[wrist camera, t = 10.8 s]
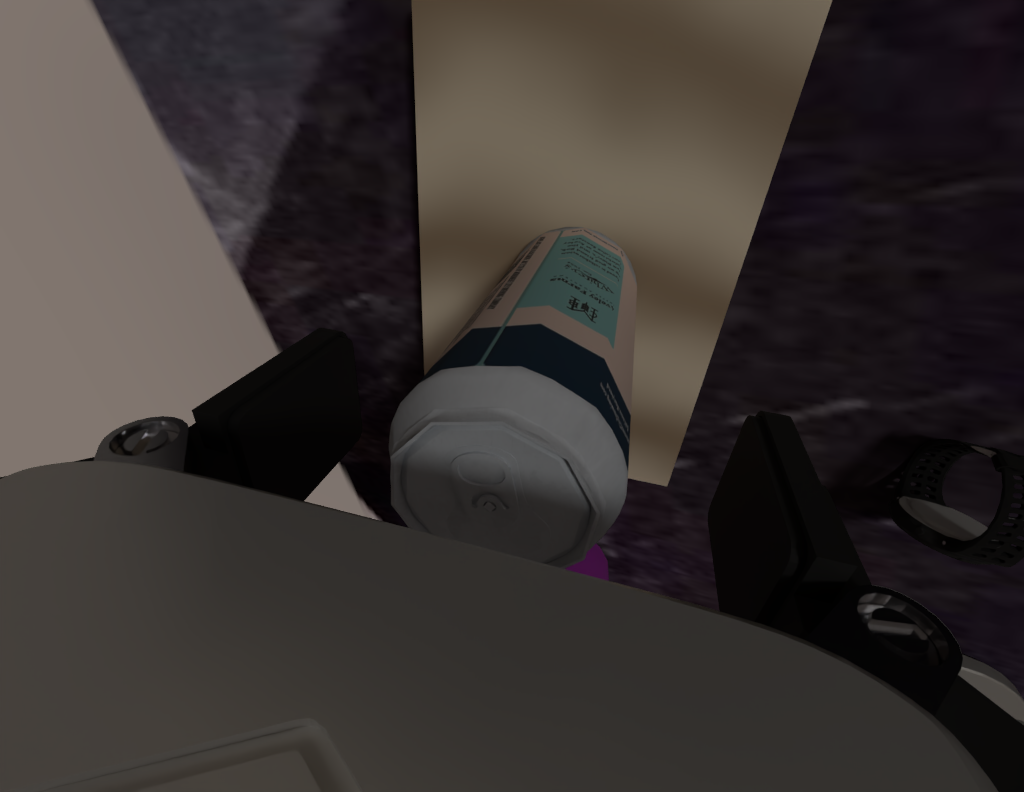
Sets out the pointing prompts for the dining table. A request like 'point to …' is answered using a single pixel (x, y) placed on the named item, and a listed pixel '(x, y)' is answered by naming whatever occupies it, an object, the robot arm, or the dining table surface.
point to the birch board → (606, 162)
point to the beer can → (527, 409)
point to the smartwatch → (949, 526)
